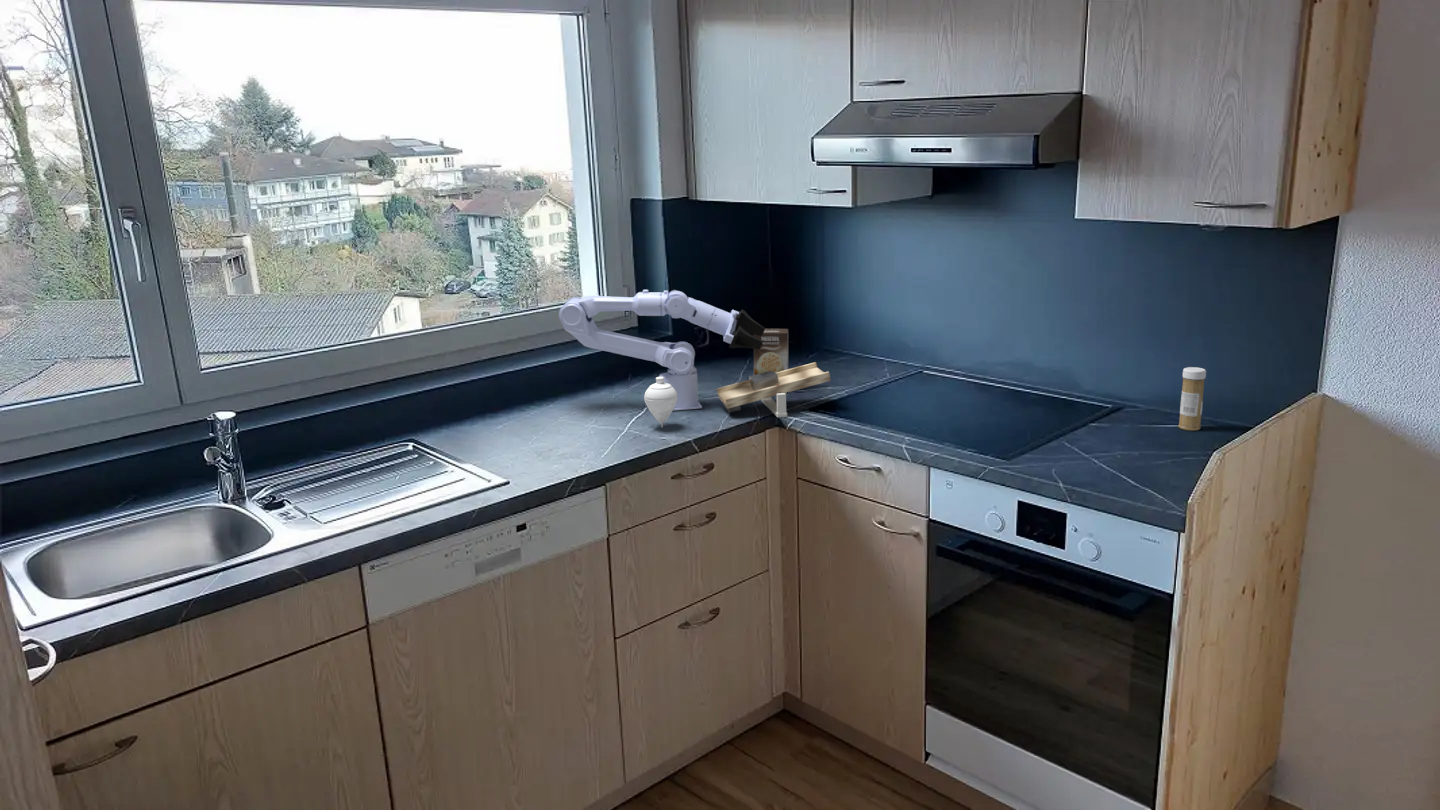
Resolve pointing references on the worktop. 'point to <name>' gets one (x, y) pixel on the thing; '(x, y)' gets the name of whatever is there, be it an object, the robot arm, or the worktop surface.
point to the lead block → (763, 380)
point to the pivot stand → (777, 405)
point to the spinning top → (660, 399)
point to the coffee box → (772, 351)
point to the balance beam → (787, 383)
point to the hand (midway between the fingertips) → (762, 338)
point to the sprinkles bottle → (1192, 398)
